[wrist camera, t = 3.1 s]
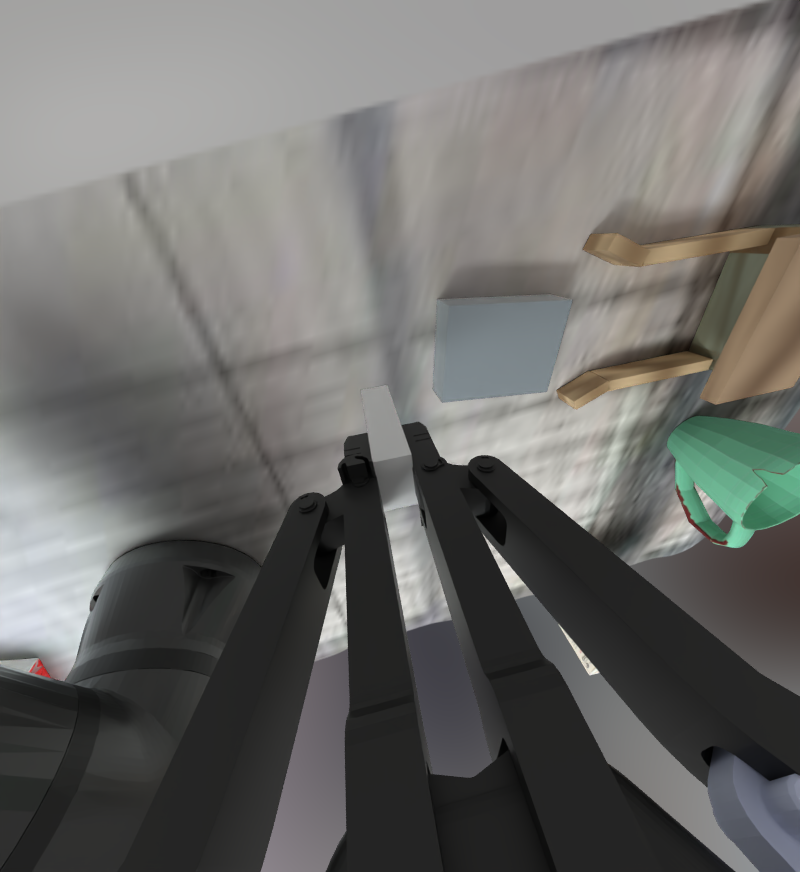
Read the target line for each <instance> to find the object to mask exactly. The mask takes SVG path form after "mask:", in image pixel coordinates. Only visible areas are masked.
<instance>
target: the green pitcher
mask: <svg viewBox="0 0 800 872" xmlns="http://www.w3.org/2000/svg"><path fill="white" fill-rule="evenodd" d="M667 447H668V449H669V450H670V451H671V453H672V454H673V456H674V457H675V490H676V492H677V495H678V497H679V499H680V502H681V504H682V506H683V509H684V511H685V514H686V516H687V518H688V521H689V523H691V524H692V525H693V526H694V527H695V528H696V529H697V530H698V531H700V532H701V533H702V534H703V535H704V536H705V537H706V538H708V539H709V540H710V541H711V542H712V543H714V544H718V545H723V546H728V547H733V548H738V547H742V546H744V545H745V544H746V543H747V541H748V540H749V539H750V538H751V537H752V535H753V533H754V531H755V530H760V529H766V528H769V527H772V526H775V525H777V524H780V523H782V522H784V521H787V520H789V519H791V518H793V517H795V516H797V515H798V514H800V434H798V433H794V432H789V431H785V430H782V429H778V428H774V427H770V426H767V425H763V424H757V423H752V422H746V421H740V420H734V419H727V418H718V417H709V416H695V417H692V418H689V419H687V420H686V421H684V422H682V423H681V424H680V425H679V426H678V427H676V428H675V430H674V431H673V432H672V433H671V435H670V436H669V438H668V441H667ZM694 482H695V483H696V484H697V485H698V486H699V487H700V488H701V489H702V490H703V491H704V492H705V493H706V494H707V495H708V496H709V497H710V498H711V499H712V500H713V501H714V502H715V503H716V504H717V505H718V506H719V507H720V508H721V509H722V510H723V511H724V512H725V513H726V514H727V515H728V516H729V517H730V518H731V519H732V520H733V523H732V526H731V529H730V532H729V533H728V534H726V533H725V532H724V531H722V530H721V529H720V528H719V527H718V526H717V525H716V524H715V523H714V522H713V521H712V520H711V518H710V517H709V515H708V513H707V511H706V509H705V507H704V505H703V503H702V501H701V499H700V497H699V495H698V493H697V491H696V489H695V487H694Z"/></svg>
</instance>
